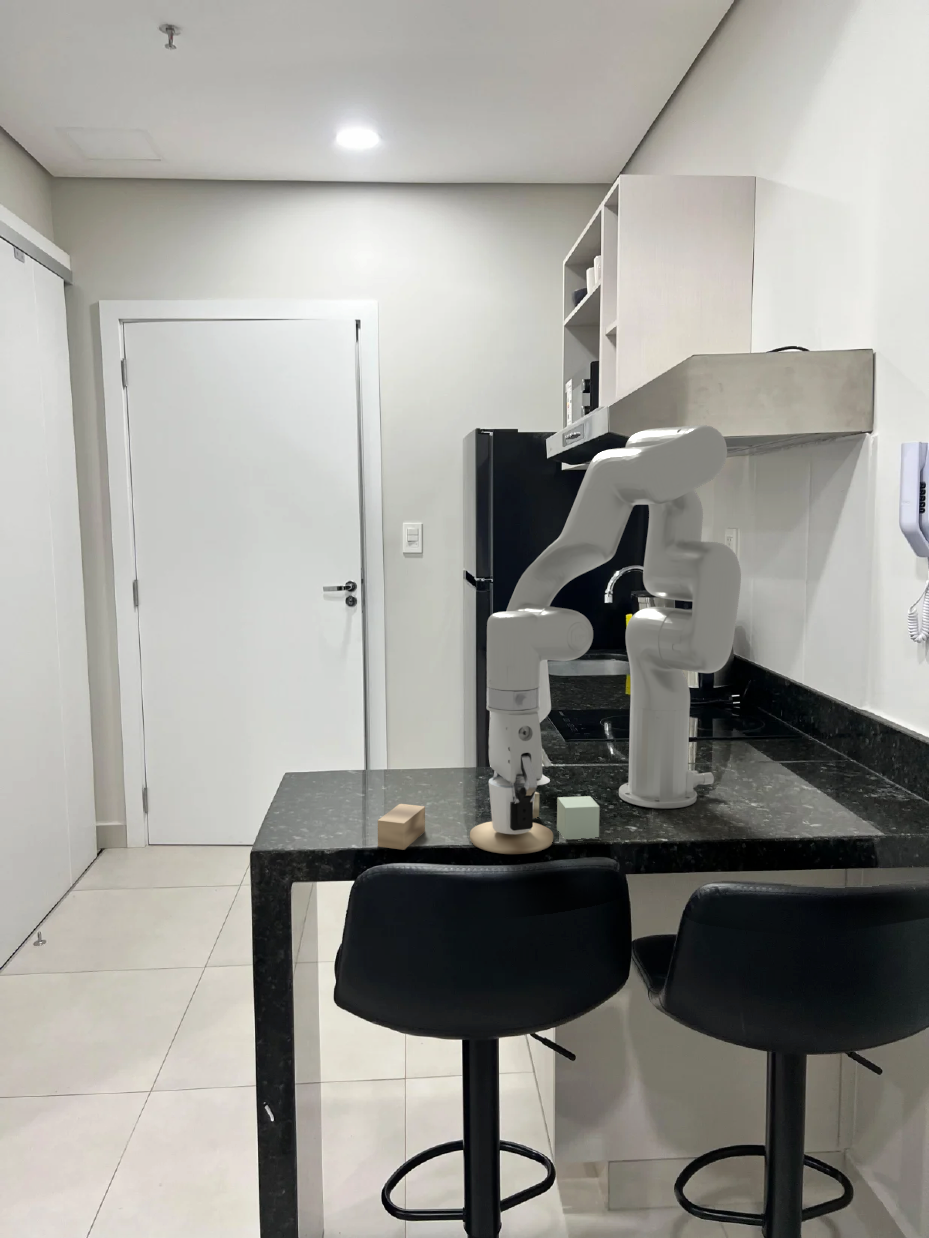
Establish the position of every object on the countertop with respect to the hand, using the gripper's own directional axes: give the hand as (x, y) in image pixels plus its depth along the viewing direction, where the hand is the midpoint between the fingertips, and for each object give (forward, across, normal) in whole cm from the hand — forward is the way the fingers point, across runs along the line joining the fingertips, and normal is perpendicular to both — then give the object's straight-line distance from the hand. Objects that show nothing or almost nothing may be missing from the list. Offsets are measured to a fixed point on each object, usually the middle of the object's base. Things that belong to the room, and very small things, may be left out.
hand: (512, 820), depth 136 cm
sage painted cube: (+3, -1, -10) cm, 10 cm away
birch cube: (+3, +9, -5) cm, 11 cm away
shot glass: (+1, 0, 0) cm, 1 cm away
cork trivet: (+3, 0, 0) cm, 3 cm away
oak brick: (+3, +5, +15) cm, 16 cm away
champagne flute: (+3, +27, -14) cm, 30 cm away
